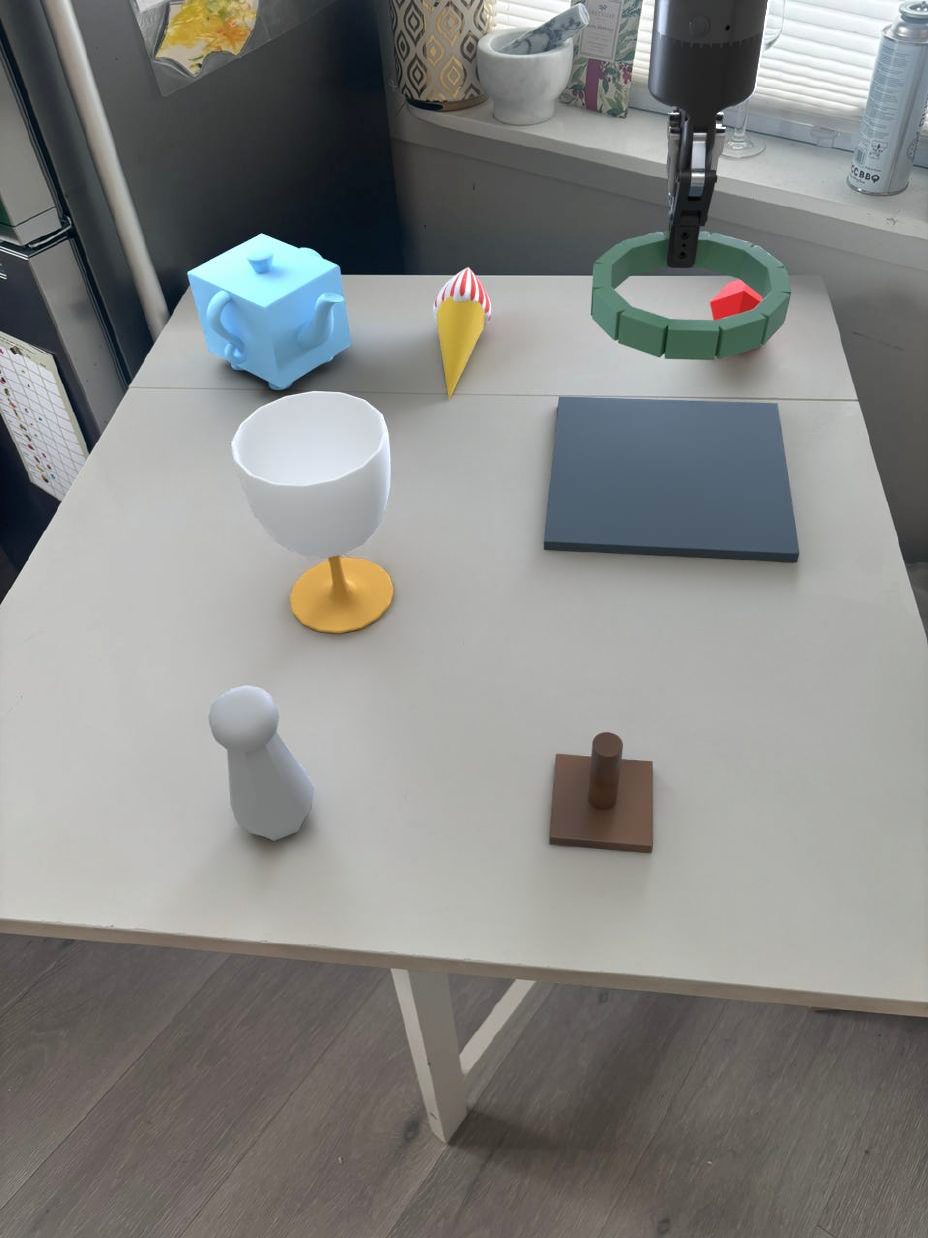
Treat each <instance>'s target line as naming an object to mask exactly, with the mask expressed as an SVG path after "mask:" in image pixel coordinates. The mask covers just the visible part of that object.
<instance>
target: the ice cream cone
mask: <svg viewBox="0 0 928 1238" xmlns="http://www.w3.org/2000/svg"><path fill="white" fill-rule="evenodd" d="M432 311H433V319H434V322H435V323H436V326H437V333H438V339H439V346H440V353H441V357H442V365H443V373H444V379H445V384H446V390H447V391H446V392H447V397H448V400H450V399H451V397H452V395H453V393H454V391H455V389H456V387H457V384H458V383H459V380H460V379H461V376H462V374H463V372H464V370H465V368H466V366H467V364H468V361H469V359H470V357H471V355H472V353H473V351H474V348H475V347H476V345H477V342H478V340H479V338H480V336H481V334H482V332H483V330H484V329H485V328H486V327H487V326H488V324H489V322H490V321H491V319H492V303H491V300H490V297H489V295H488V292H487V290H486V289H485V287H484V285H483V284H482V282H481V281H480V279H479V278H478V276H477V275H476V274H475V272H474V271H473V270H471V268H470V267H469V266H468V267H466V268H464V269H462V270H460V271H459V272H457V273H456V274H455V275H453V276H452V277H451V278H450V279H449V280H448V281H447V282H446V283H444V285H443V286H442V287H441V289H440V290H439V291H438V293H437V295H436V297H435V299H434V302H433V305H432Z"/></svg>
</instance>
